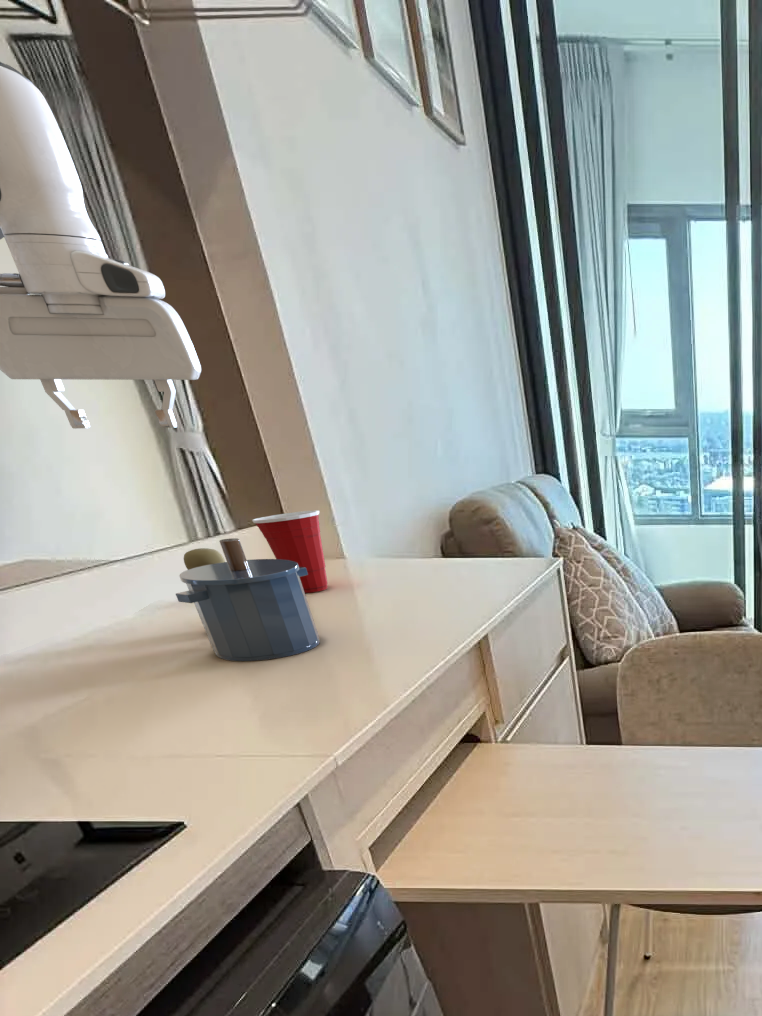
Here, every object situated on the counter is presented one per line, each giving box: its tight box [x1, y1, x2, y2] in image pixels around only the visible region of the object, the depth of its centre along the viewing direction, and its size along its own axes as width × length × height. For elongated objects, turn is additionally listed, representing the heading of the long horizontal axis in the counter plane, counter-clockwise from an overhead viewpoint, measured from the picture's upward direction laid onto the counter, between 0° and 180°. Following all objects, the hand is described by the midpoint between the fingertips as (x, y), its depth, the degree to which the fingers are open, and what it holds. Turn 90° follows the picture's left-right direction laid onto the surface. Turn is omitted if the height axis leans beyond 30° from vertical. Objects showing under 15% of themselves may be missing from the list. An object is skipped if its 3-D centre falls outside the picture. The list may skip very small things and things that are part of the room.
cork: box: [183, 547, 226, 570], centre depth 125 cm, size 6×6×11 cm
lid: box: [178, 537, 299, 585], centre depth 114 cm, size 15×15×5 cm
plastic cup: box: [251, 509, 328, 594], centre depth 148 cm, size 11×11×12 cm
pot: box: [175, 567, 321, 662], centre depth 118 cm, size 14×19×10 cm
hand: (125, 427), depth 101 cm, fingers open, 8 cm apart
